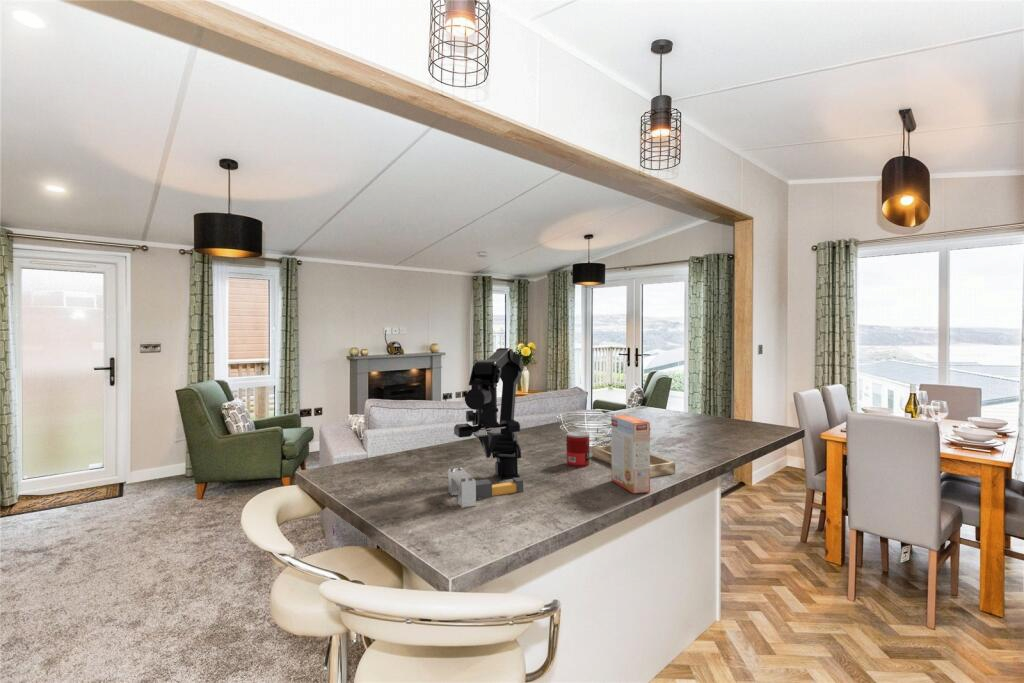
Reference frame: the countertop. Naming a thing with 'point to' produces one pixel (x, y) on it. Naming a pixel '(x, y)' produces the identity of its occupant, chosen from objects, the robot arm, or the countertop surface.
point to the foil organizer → (656, 463)
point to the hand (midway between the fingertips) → (487, 457)
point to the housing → (462, 487)
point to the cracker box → (631, 453)
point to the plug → (497, 488)
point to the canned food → (578, 449)
